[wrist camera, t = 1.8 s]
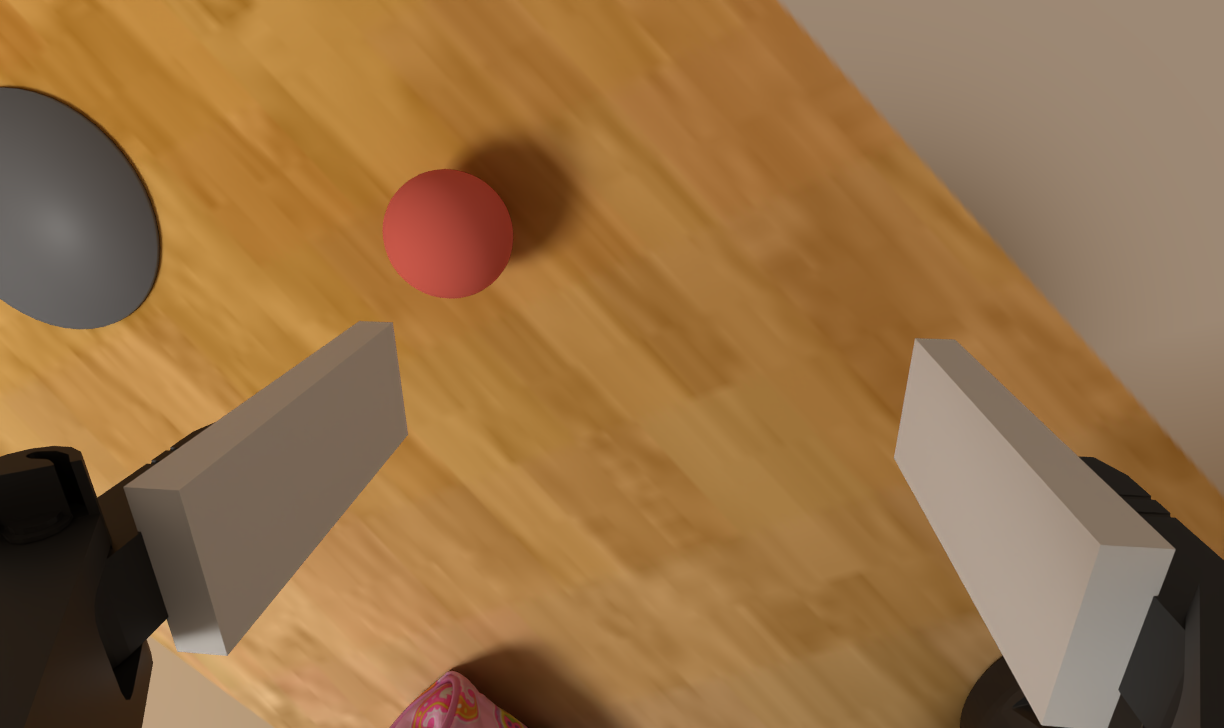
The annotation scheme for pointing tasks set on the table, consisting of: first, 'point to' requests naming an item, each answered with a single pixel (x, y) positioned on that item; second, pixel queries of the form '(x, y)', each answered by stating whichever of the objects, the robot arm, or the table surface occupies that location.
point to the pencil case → (454, 707)
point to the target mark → (70, 217)
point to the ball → (448, 233)
